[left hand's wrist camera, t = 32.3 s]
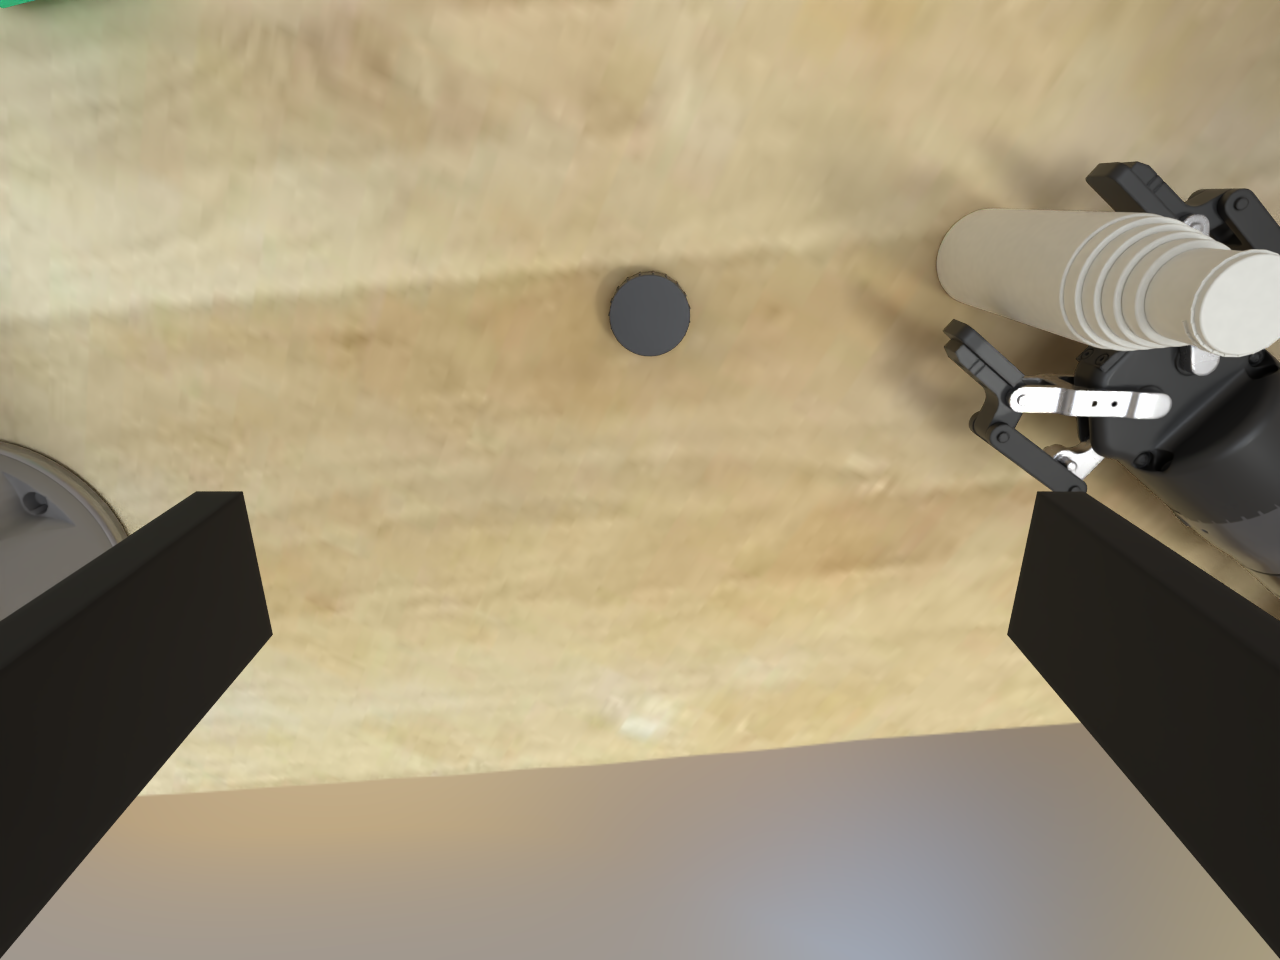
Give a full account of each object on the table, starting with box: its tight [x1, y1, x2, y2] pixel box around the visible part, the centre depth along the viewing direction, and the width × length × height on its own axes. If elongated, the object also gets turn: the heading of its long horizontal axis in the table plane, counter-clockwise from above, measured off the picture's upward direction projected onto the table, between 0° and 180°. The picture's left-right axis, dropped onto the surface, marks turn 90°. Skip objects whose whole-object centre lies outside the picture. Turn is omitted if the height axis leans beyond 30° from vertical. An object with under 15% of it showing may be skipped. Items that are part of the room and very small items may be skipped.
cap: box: [609, 271, 690, 356], centre depth 39 cm, size 4×4×2 cm
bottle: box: [937, 208, 1280, 357], centre depth 30 cm, size 5×5×18 cm
